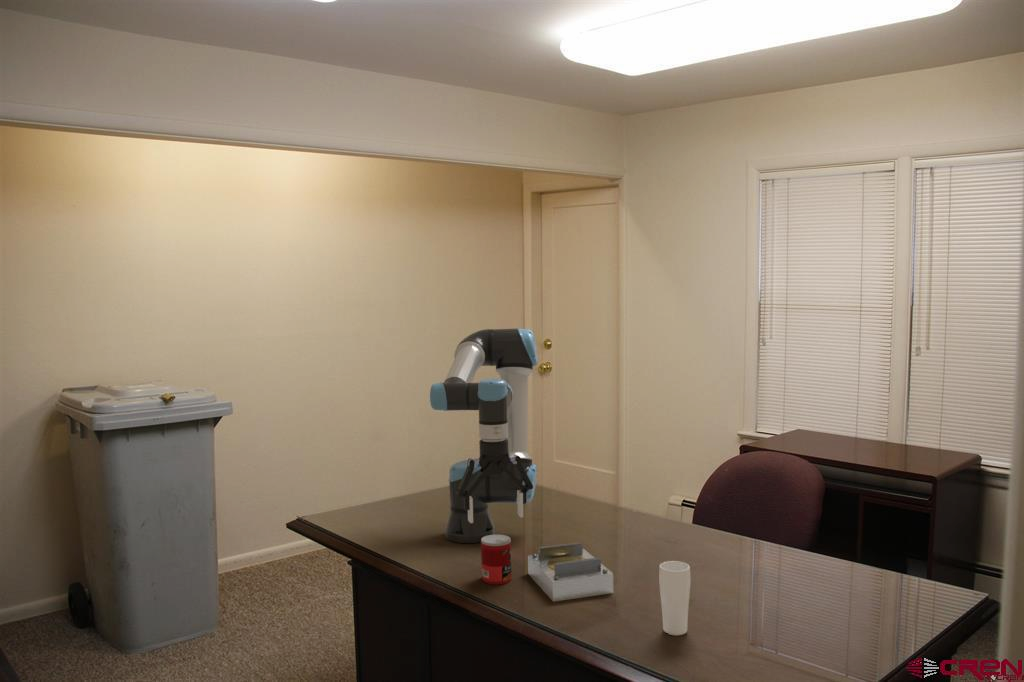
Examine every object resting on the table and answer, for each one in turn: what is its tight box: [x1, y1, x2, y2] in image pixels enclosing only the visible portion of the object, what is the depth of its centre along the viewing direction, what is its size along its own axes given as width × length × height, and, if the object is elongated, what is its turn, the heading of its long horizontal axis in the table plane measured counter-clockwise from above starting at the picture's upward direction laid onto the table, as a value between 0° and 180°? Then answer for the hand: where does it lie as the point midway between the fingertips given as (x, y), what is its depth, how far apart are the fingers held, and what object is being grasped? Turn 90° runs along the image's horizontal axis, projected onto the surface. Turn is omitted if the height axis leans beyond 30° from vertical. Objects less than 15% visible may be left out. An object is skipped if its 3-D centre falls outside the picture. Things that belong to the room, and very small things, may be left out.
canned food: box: [480, 534, 513, 585], centre depth 218 cm, size 8×8×11 cm
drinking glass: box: [658, 560, 691, 636], centre depth 184 cm, size 7×7×15 cm
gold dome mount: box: [527, 541, 614, 602], centre depth 214 cm, size 20×16×8 cm
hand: (495, 518), depth 217 cm, fingers open, 13 cm apart
